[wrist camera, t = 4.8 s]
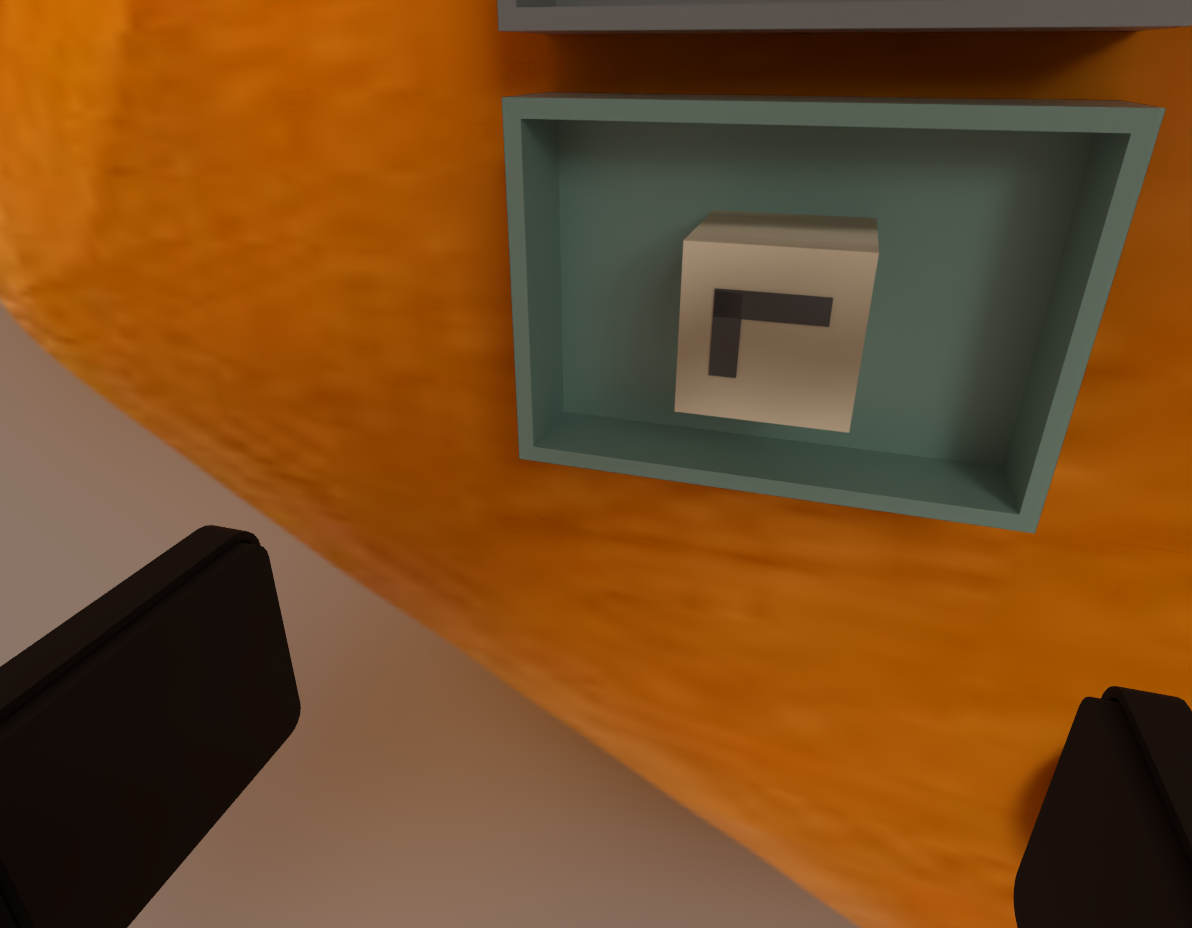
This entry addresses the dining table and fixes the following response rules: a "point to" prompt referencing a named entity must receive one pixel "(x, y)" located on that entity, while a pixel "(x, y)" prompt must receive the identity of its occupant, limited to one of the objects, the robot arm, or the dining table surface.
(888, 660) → the dining table surface
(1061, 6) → the charcoal bin
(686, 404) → the letter cube
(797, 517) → the dining table surface
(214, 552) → the robot arm
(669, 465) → the green-grey bin
